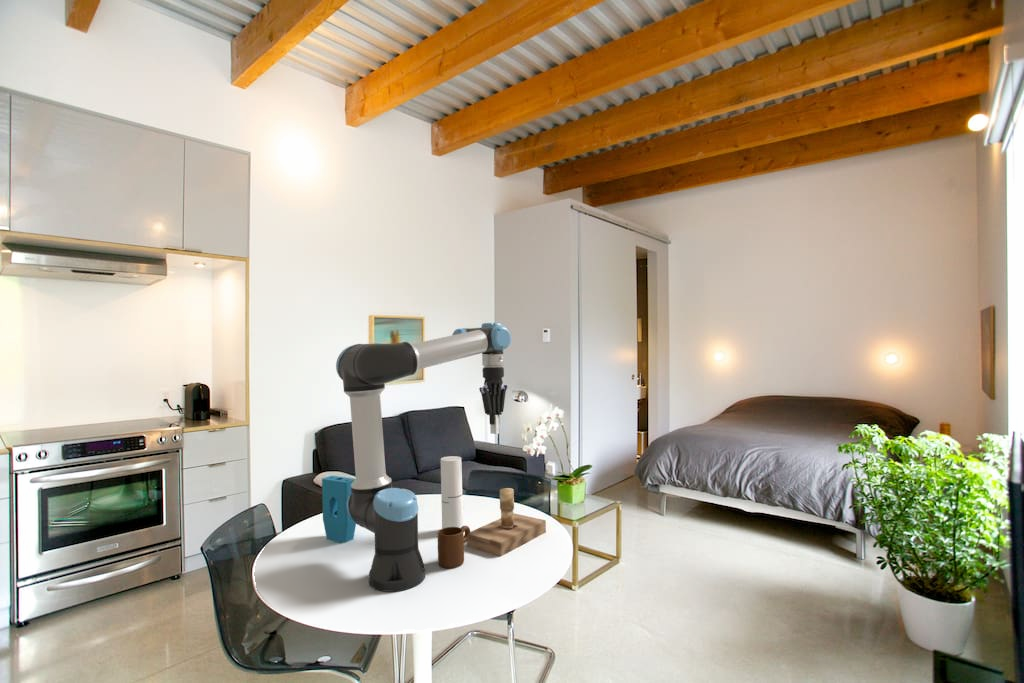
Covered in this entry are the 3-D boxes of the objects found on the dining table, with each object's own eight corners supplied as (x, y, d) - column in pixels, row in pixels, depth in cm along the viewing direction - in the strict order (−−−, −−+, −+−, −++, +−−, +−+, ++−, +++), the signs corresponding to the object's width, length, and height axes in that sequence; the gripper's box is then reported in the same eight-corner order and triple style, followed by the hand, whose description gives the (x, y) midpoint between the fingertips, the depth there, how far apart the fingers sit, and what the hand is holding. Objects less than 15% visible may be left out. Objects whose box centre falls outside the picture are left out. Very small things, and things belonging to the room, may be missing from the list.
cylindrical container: (461, 535, 173) (460, 460, 174) (440, 535, 174) (439, 460, 174) (464, 527, 181) (462, 456, 181) (443, 528, 181) (442, 456, 181)
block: (321, 538, 174) (320, 478, 174) (333, 533, 178) (332, 475, 178) (346, 544, 168) (345, 482, 168) (358, 539, 172) (357, 479, 172)
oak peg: (509, 542, 166) (507, 492, 166) (497, 539, 168) (496, 490, 169) (517, 538, 169) (516, 489, 169) (506, 535, 172) (505, 487, 172)
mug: (460, 551, 160) (459, 520, 160) (479, 556, 155) (478, 525, 155) (432, 564, 150) (431, 532, 150) (451, 571, 146) (451, 537, 146)
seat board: (501, 556, 155) (501, 542, 155) (466, 546, 164) (466, 533, 164) (545, 532, 174) (545, 520, 174) (512, 524, 183) (512, 513, 183)
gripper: (489, 367, 175) (491, 437, 175) (512, 365, 185) (514, 431, 185) (472, 367, 180) (474, 435, 179) (496, 365, 190) (498, 430, 190)
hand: (494, 433), depth 182 cm, fingers closed
